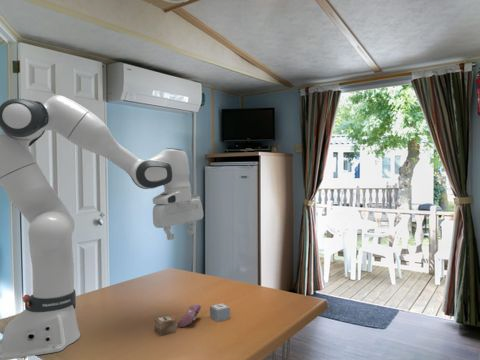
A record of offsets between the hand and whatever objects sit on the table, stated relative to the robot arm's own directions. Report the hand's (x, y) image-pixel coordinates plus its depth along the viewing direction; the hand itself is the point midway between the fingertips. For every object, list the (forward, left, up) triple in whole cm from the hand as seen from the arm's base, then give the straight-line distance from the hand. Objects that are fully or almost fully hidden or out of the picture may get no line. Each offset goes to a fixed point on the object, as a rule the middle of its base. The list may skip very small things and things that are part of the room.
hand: (181, 236), depth 125 cm
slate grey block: (+12, -5, -29) cm, 31 cm away
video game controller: (+2, -3, -29) cm, 29 cm away
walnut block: (-8, -5, -29) cm, 30 cm away
